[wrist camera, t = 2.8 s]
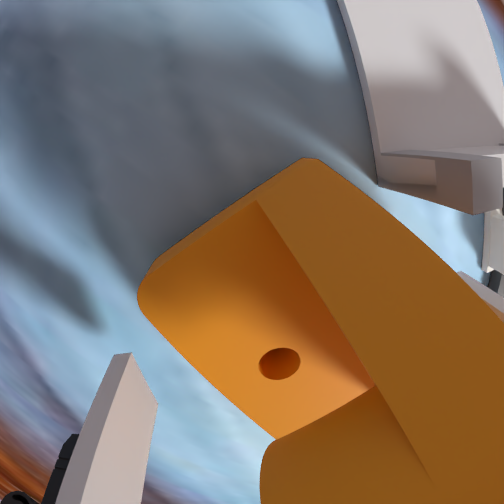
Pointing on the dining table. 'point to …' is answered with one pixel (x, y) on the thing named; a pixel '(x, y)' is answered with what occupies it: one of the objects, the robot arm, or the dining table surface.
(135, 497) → the robot arm
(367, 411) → the bracket
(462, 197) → the holder
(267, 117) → the dining table surface
